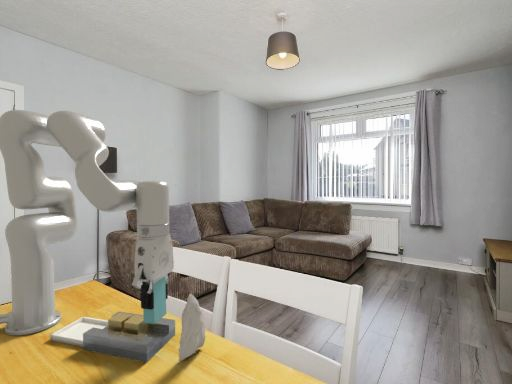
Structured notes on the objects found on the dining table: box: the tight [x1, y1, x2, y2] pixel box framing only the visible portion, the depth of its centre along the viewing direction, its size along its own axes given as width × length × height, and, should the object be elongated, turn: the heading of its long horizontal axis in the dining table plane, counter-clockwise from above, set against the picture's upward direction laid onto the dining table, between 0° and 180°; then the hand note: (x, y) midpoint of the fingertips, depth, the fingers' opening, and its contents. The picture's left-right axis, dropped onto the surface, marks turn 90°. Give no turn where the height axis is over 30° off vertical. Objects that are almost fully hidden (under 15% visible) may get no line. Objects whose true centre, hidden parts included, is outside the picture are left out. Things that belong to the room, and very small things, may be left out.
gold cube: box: [124, 314, 148, 336], centre depth 70 cm, size 4×4×4 cm
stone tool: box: [178, 293, 206, 362], centre depth 65 cm, size 8×3×15 cm, turn 150°
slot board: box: [82, 311, 176, 363], centre depth 71 cm, size 18×12×4 cm, turn 75°
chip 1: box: [107, 313, 133, 333], centre depth 72 cm, size 4×4×4 cm
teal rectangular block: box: [142, 275, 167, 324], centre depth 69 cm, size 3×5×11 cm, turn 165°
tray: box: [49, 316, 109, 348], centre depth 75 cm, size 11×10×2 cm
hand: (154, 302), depth 69 cm, fingers closed on teal rectangular block, 5 cm apart
